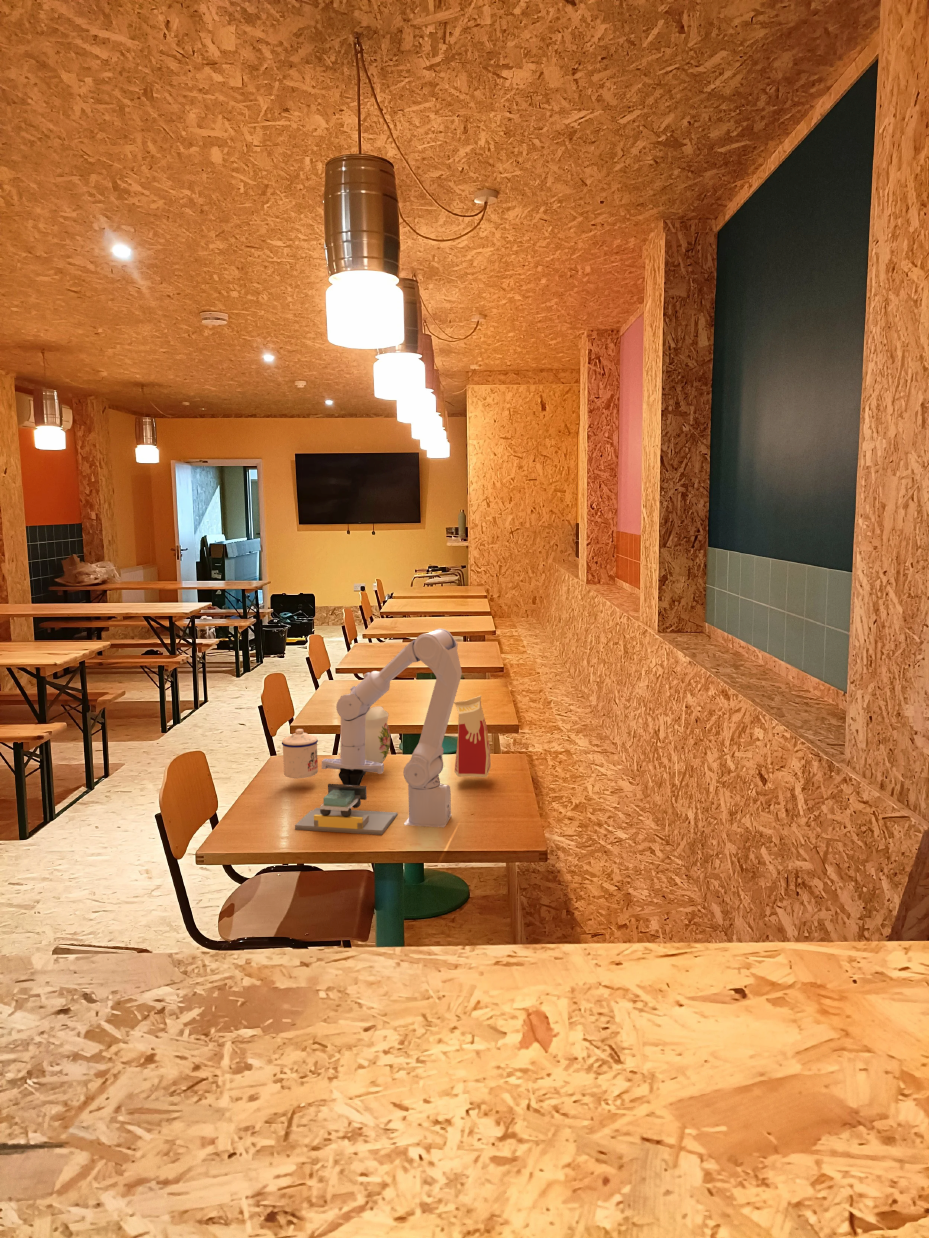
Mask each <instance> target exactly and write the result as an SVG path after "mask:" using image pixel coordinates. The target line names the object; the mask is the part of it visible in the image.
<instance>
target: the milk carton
mask: <svg viewBox="0 0 929 1238" xmlns="http://www.w3.org/2000/svg"><path fill="white" fill-rule="evenodd" d="M481 700H482V695H478V696H476V697H472V698H469V699H467V700H458V701H454V704H453V705H455V707H456V710H457V714H458V720H457V722H458V725H457V730H458V731H457V742H456V753H455V763H454V774H456V776H457V777H463V778H464V777H468V778H469V777H470V778H487V777H488V775H489V773H490V769H491V768H492V766H491V747H490V746H491V745H490V739H489V732H488V726H487V721H486V718H485V714H484V710H483V708H482V701H481Z"/></svg>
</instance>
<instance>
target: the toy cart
mask: <svg viewBox="0 0 929 1238" xmlns="http://www.w3.org/2000/svg"><path fill="white" fill-rule="evenodd" d="M367 797H368V796H367V785H361V784H360V785H344V784H343V783H342V784H340V783H328V784H327V794H325V796H324V797H323V803H322V804H321V805H319V808H320V813H321V815H323V816H328V815H329V814H330V813H331V810H340V811H341V815H342V816H343V817H349V816H350V815H351V813H352V810H353V809H352V808H354V809H358V808H360V806H361V804H362V801H366V800H367Z"/></svg>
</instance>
